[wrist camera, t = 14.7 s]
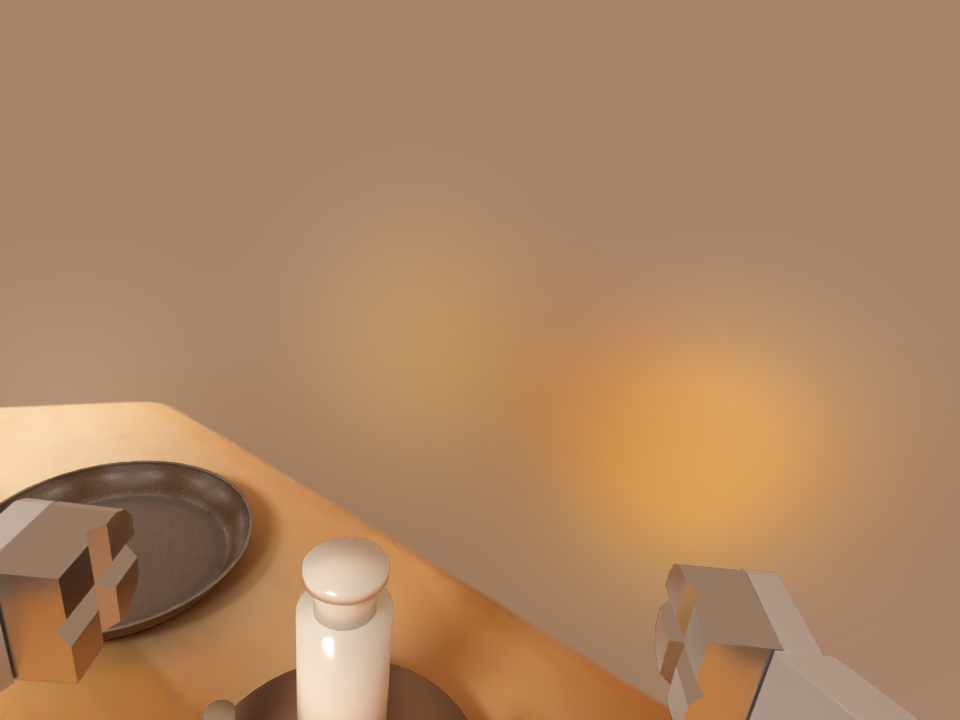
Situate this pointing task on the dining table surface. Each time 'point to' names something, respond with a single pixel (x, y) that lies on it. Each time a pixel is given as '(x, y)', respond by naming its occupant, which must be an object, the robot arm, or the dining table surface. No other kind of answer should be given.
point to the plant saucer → (162, 529)
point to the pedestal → (273, 707)
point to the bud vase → (344, 632)
